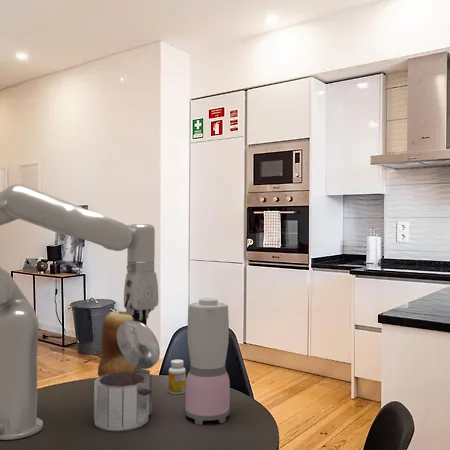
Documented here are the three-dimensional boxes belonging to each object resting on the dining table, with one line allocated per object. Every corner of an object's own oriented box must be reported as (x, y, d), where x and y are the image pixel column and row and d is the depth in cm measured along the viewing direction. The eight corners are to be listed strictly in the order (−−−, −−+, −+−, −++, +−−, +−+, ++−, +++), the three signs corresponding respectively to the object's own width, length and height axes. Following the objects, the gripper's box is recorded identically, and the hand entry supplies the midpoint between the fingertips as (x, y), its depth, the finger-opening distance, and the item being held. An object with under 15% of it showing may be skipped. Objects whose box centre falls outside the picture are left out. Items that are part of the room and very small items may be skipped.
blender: (234, 423, 131) (235, 302, 132) (188, 427, 129) (189, 303, 129) (222, 403, 147) (222, 294, 147) (181, 406, 144) (182, 295, 145)
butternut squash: (142, 396, 152) (142, 314, 153) (96, 399, 149) (97, 316, 149) (139, 382, 166) (140, 307, 166) (97, 385, 163) (98, 308, 163)
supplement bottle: (166, 390, 159) (167, 359, 159) (183, 388, 160) (183, 358, 160) (170, 395, 153) (170, 363, 154) (187, 393, 155) (187, 362, 155)
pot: (129, 437, 122) (129, 392, 122) (77, 422, 131) (78, 380, 132) (168, 417, 136) (169, 376, 136) (119, 404, 145) (120, 366, 145)
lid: (151, 324, 132) (155, 321, 133) (111, 319, 140) (115, 316, 141) (161, 377, 136) (165, 373, 137) (121, 369, 143) (126, 366, 145)
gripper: (133, 270, 131) (132, 340, 131) (167, 267, 144) (167, 330, 144) (112, 269, 135) (111, 336, 135) (147, 265, 148) (147, 327, 147)
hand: (140, 333), depth 139 cm, fingers closed
